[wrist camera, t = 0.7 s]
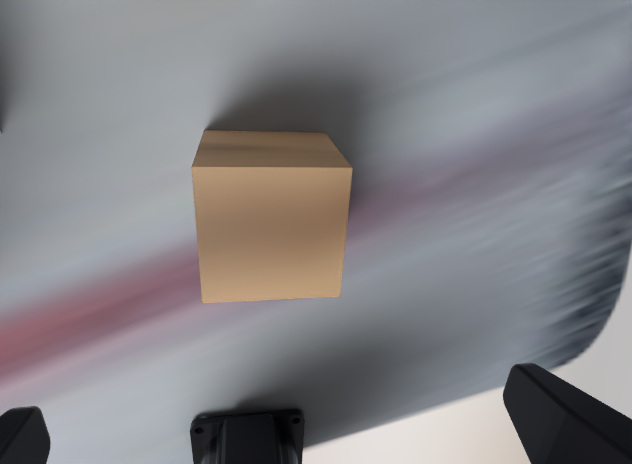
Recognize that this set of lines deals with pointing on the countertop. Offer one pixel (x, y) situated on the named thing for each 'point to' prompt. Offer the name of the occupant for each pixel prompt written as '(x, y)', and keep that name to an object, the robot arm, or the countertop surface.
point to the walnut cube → (270, 215)
